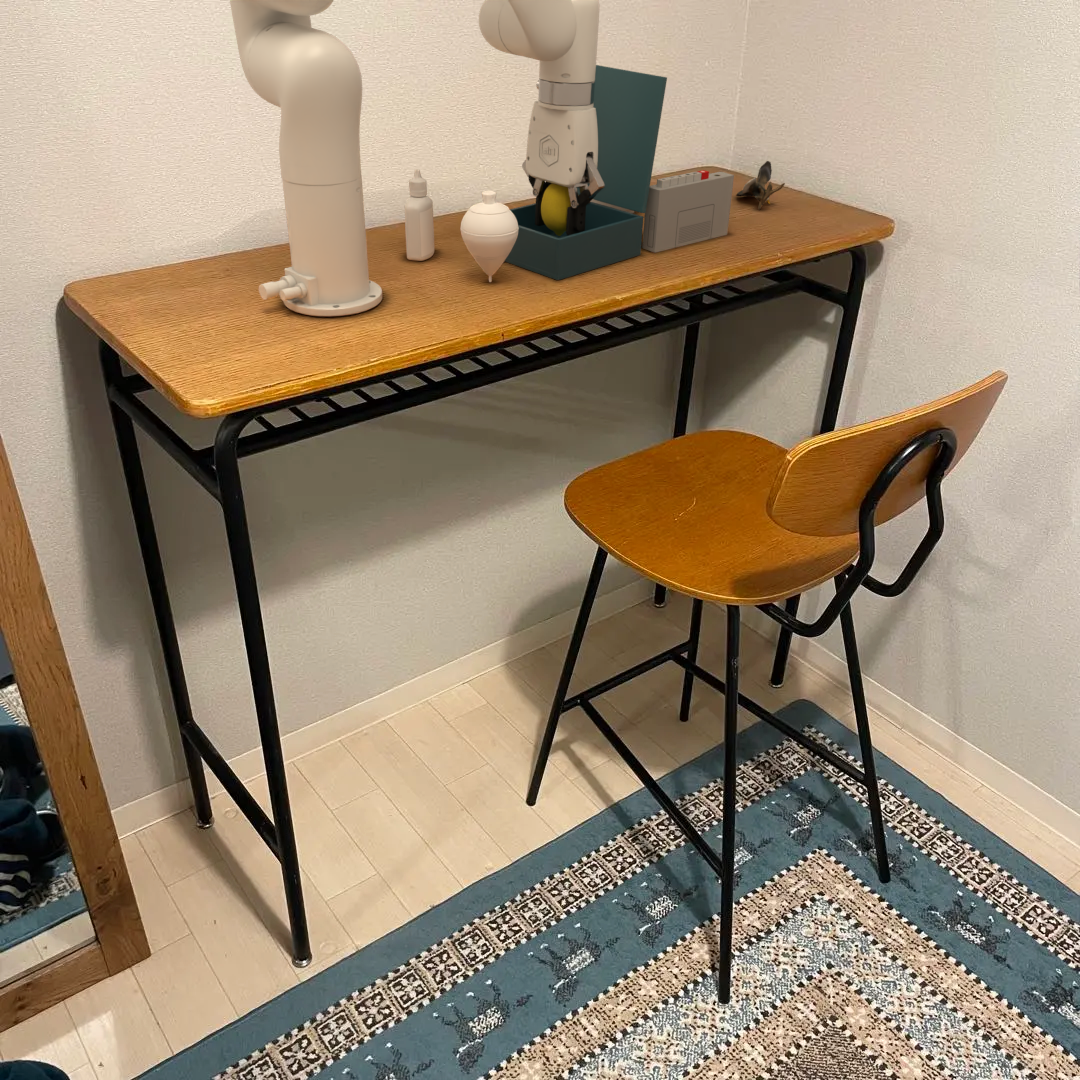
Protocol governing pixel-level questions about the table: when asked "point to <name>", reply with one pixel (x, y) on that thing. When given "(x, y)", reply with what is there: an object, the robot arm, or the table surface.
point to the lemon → (555, 208)
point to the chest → (576, 242)
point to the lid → (627, 134)
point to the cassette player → (687, 209)
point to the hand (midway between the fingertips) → (559, 227)
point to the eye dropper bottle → (419, 220)
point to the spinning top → (489, 232)
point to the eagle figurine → (760, 186)
